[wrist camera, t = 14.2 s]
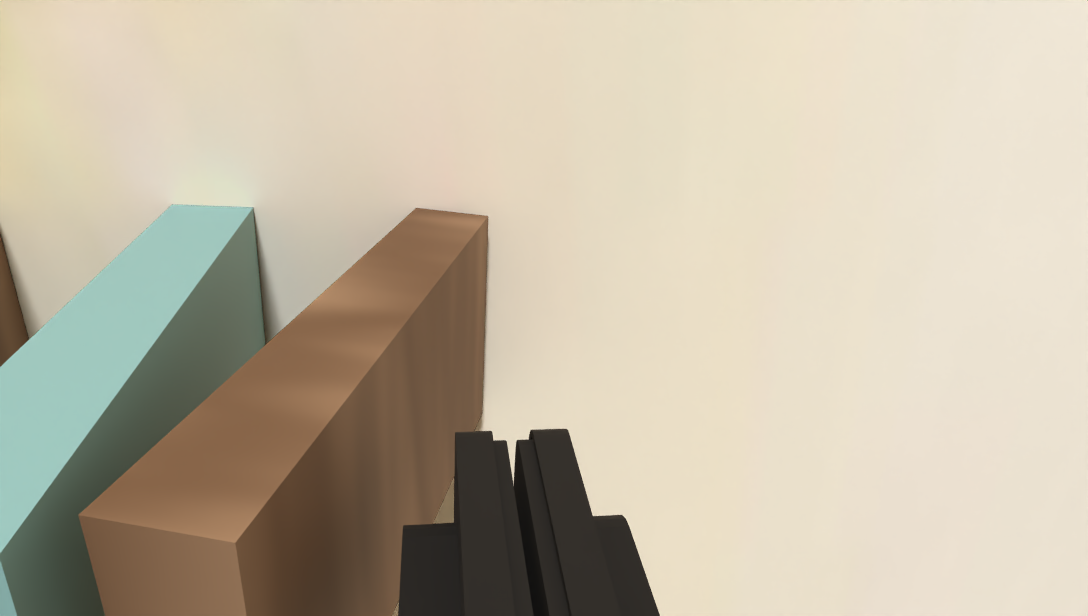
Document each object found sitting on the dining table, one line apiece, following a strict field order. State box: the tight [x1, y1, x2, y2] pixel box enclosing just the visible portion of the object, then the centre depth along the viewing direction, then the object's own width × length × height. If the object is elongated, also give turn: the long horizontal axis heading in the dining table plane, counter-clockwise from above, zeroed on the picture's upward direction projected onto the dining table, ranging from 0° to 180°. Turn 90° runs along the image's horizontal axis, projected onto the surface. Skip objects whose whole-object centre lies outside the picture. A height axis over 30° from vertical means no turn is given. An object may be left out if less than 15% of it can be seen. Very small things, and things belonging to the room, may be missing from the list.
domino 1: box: [0, 205, 266, 616], centre depth 12 cm, size 2×5×10 cm, turn 176°
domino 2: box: [78, 208, 488, 616], centre depth 12 cm, size 2×5×10 cm, turn 175°
